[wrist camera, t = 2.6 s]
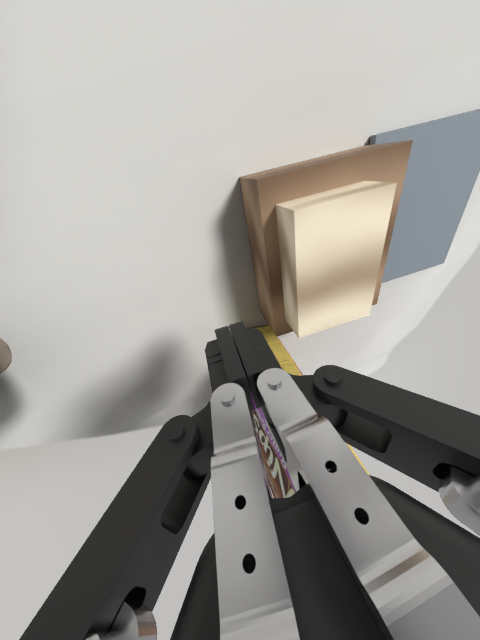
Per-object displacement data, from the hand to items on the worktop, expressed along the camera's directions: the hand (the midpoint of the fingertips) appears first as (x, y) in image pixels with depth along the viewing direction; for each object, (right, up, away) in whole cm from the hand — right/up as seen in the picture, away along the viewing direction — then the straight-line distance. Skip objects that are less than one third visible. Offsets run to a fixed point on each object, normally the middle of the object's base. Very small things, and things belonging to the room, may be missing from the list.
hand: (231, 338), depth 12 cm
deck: (+6, +8, +8) cm, 13 cm away
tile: (+7, +5, +4) cm, 9 cm away
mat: (+17, +11, +9) cm, 22 cm away
